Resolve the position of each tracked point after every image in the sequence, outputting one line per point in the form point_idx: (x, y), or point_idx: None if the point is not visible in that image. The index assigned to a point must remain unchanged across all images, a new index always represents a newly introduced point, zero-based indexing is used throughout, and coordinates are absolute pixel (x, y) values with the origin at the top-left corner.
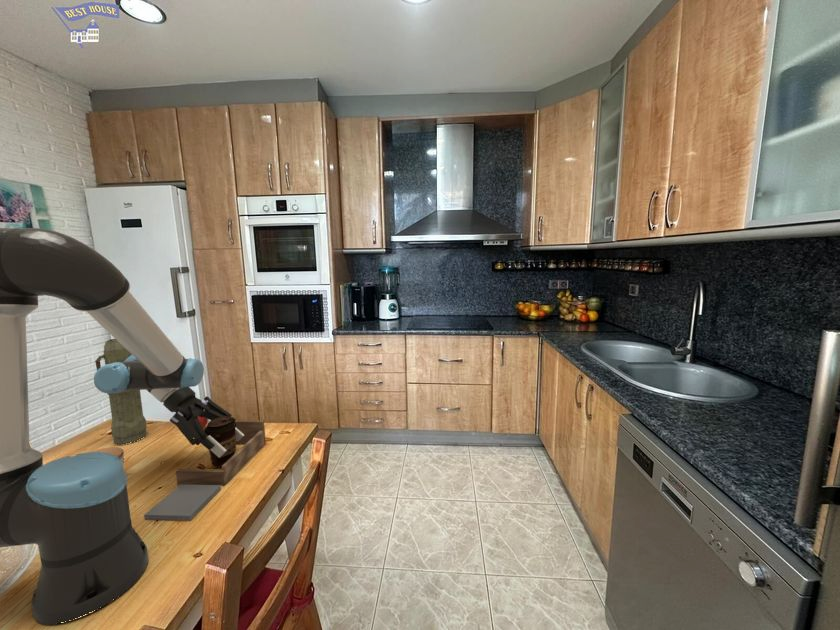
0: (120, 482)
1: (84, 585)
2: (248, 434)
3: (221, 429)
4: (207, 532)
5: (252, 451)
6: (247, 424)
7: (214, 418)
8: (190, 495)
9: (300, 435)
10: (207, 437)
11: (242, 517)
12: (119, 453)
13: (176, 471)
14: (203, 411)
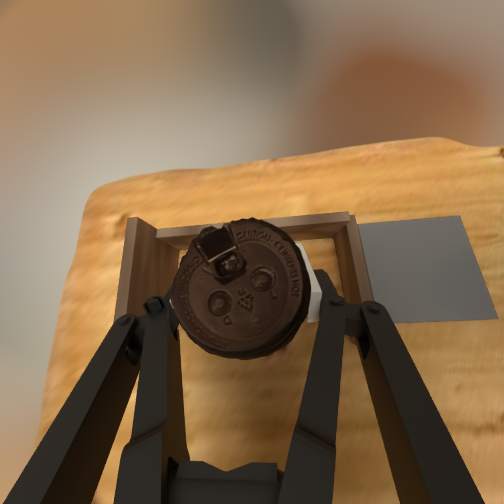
0: None
1: None
2: (160, 276)
3: (290, 242)
4: (461, 172)
5: None
6: (138, 272)
7: (175, 369)
8: (406, 263)
9: (140, 186)
10: (321, 294)
11: (411, 143)
12: None
13: None
14: (184, 462)
